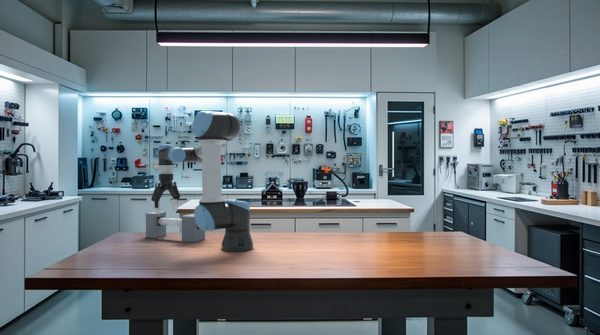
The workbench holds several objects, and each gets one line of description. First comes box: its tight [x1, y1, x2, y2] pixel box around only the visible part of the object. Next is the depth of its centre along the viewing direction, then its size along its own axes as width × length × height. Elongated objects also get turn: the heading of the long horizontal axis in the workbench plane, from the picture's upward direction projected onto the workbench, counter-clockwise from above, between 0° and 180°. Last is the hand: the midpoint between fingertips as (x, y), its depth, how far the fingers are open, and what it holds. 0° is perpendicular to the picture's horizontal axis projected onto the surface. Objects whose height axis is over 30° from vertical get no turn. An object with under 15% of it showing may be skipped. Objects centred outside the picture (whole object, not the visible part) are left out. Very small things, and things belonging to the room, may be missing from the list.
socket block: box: [145, 211, 167, 239], centre depth 230 cm, size 6×9×13 cm, turn 157°
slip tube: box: [157, 217, 182, 228], centre depth 225 cm, size 25×4×4 cm, turn 67°
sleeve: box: [181, 213, 206, 243], centre depth 220 cm, size 8×9×13 cm
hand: (166, 212), depth 226 cm, fingers open, 13 cm apart
